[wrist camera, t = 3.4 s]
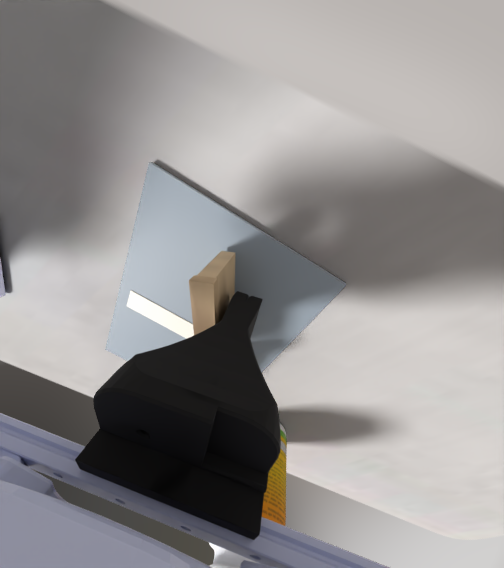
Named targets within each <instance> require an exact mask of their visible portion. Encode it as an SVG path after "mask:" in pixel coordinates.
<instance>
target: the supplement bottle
mask: <svg viewBox="0 0 504 568" xmlns="http://www.w3.org/2000/svg"><path fill="white" fill-rule="evenodd" d="M280 433H281V450H280V454H279V457H278V459H277V460H276V462H275V463H274V465H273V466H272V468H271V469H270V471H269V473H268V483H267V490H266V492H265V493H264V500H263V509H262V517H263V518H266V519H268V520H271V521H273V522H276V523H278V524H281V525H283V526H285V517H286V516H285V515H286V513H285V512H286V510H285V509H286V446H287V441H286V431H285V429H284V427H283V426H282V425H281V423H280ZM209 544H210V545H211V547H212V548H213V549H214V551H215V556H214V562H213V565H210V567H212V568H240V565H241V563H242V562H243V561H244V560H246V561H251V562H255V561H253V560H250V559H248V558H245V557H243V556H241V555H238V554H236V553H233V552H231V551H229V550H226V549H224V548H221V547H219V546H217V545H214V544H212V543H209ZM255 563H257V562H255ZM259 564H260V563H259Z"/></svg>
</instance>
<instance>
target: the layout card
mask: <svg viewBox="0 0 504 568" xmlns="http://www.w3.org/2000/svg"><path fill="white" fill-rule="evenodd" d="M221 251H227V252H235V293H236V292H237V291H239V292H242V293H245V294H248V296H249V297H250V296H255V297H258V298H261V299H263V300H262V303H261V306H260V309H259V313H258V316H257V319H256V322H255V326H254V329H253V332H252V335H251V343H252V347H253V350H254V354H255V356H256V359H257V362H258V365H259V367H260V370H261V372H262V371H263V370H264V369H265V368H266V367H267V366H268V365H269V364H270V363H271V362H272V361H273V360H274V359H275V358H276V357H277V356H278V355H279V354H280V353H281V352H282V351H283V350H284V349H285V348H286V347H287V346H288V345H289V344H290V343H291V342H292V341H293V340H294V339H295V337H296V336H297V335H298V334H299V333H300V332H301V331H302V330H303V329H304V328H305V327H306V326H307V325H308V324H309V323H310V322H311V321H312V320H313V319H314V318H315V317H316V316H317V315H318V314H319V313H320V312H321V311H322V310H323V309H324V308H325V307H326V306H327V305H328V304H329V303H330V301H331V300H332V299H333V298H334V297H335V296H336V295H337V294H338V293H339V292H340V291H341V290H342V289H343V288H344V287H345V286H346V283H345V282H344V281H342V280H340V279H339V278H337V277H336V276H334V275H332V274H331V273H329V272H328V271H326V270H324V269H323V268H321V267H320V266H318V265H316V264H315V263H313V262H312V261H310V260H308V259H307V258H305V257H304V256H302V255H300V254H299V253H297V252H296V251H294V250H292V249H291V248H289V247H288V246H286V245H284V244H283V243H281V242H280V241H278V240H276V239H275V238H273V237H271V236H270V235H268V234H267V233H265V232H263V231H262V230H260V229H259V228H257V227H255V226H254V225H252V224H251V223H249V222H247V221H246V220H244V219H243V218H241V217H239V216H238V215H236V214H235V213H233V212H231V211H230V210H228V209H227V208H225V207H223V206H222V205H220V204H219V203H217V202H215V201H214V200H212V199H211V198H209V197H207V196H206V195H204V194H203V193H201V192H199V191H198V190H196V189H195V188H193V187H191V186H190V185H188V184H187V183H185V182H183V181H182V180H180V179H179V178H177V177H175V176H174V175H172V174H171V173H169V172H167V171H166V170H164V169H162V168H161V167H159V166H158V165H156V164H154V163H153V162H149V165H148V169H147V173H146V178H145V182H144V186H143V191H142V195H141V199H140V203H139V208H138V212H137V216H136V221H135V225H134V229H133V233H132V238H131V242H130V246H129V251H128V255H127V259H126V263H125V268H124V272H123V276H122V280H121V285H120V289H119V293H118V298H117V302H116V306H115V310H114V315H113V319H112V323H111V328H110V332H109V336H108V340H107V345H106V349H105V350H107V351H109V352H111V353H113V354H115V355H117V356H119V357H121V358H123V359H125V360H127V361H129V360H130V359H131V358H132V357H133V356H134V355H136V354H139V353H143V352H147V351H151V350H154V349H158V348H162V347H165V346H168V345H171V344H174V343H176V342H179V341H182V340H184V339H187V338H189V337H192V336H194V330H193V319H192V309H191V299H190V289H189V280H190V279H191V278H192V277H193V276H194V275H198V274H199V273H200V272H201V271H202V270H203V269H204V268H205V267H206V266H207V265H208V264H209V263H210V262H211V261H212V260H213V259H214V258H215V257H216V256H217V255H218V254H219V253H220V252H221Z"/></svg>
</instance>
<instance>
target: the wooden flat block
mask: <svg viewBox="0 0 504 568" xmlns="http://www.w3.org/2000/svg"><path fill="white" fill-rule="evenodd" d="M189 289H190V299H191V309H192V319H193V330H194V335H196V334H198V333H200V332H202V331H204V330H206V329H208V328H210V327H212V326H213V325H215V324H217V323H218V322H220V321H221V320H222V318H223V316H224V314H225V312H226V310H227V307H228V305H229V303H230V301H231V299H232V296H233V295H234V294H235V252H227V251H221V252H220V253H219V254H218V255H217V256H216V257H215V258H214V259H213V260H212V261H211V262H210V263H209V264H208V265H207V266H206V267H205V268H204V269H203V270H202V271H201V272H200V273H199V274H198V275H194V276H193V277H192V278H191V279H190V280H189Z"/></svg>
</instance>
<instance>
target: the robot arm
mask: <svg viewBox="0 0 504 568" xmlns="http://www.w3.org/2000/svg"><path fill="white" fill-rule="evenodd" d="M3 296H5V286H4V279H3V272H2V265H1V259H0V297H3ZM262 300H263V299H261V298H258V297H255V296H250V297H249V296H248V294H245V293H242V292H239V291H237V292H236V293H235V294H234V295H233V296H232V299H231V301H230V303H229V305H228V307H227V310H226V312H225V314H224V316H223V318H222V320H221V321H220V322H218V323H217V324H215V325H213V326H212V327H210V328H208V329H206V330H204V331H202V332H200V333H198V334H196V335H194V336H192V337H189V338H187V339H184V340H182V341H179V342H176V343H174V344H171V345H168V346H165V347H162V348H158V349H154V350H151V351H147V352H143V353H139V354H136V355H134V356H133V357H132V358H131V359H130V360H129V361H127V362H126V363H125V364H124V365H123V366H122V367H121V368H119V369H118V370H117V371H116V372H115V373H114V374H113V376H112V377H111V378H110V379H109V380H108V381H107V382H106V383H105V384H104V385H103V386H102V387H101V388H100V389H99V390H98V391H97V392H96V394H95V396H94V409H95V412H96V415H97V419H98V422H99V425H100V429H99V431H98V432H97V433H96V434H95V436H94V437H93V438H92V439H91V441H90V442H89V443H88V444H87V446H86V447H85V446H82V445H80V444H77V443H75V442H72V441H70V440H67V439H65V438H62V437H60V436H57V435H54V434H52V433H49V432H47V431H44V430H42V429H39V428H37V427H34V426H32V425H29V424H27V423H24V422H22V421H19V420H17V419H14V418H12V417H9V416H7V415H4V414H2V413H0V568H212V567H210V566H208V565H206V564H204V563H202V562H200V561H198V560H196V559H194V558H192V557H190V556H188V555H186V554H184V553H182V552H180V551H178V550H176V549H174V548H172V547H169V546H168V545H166V544H164V543H162V542H160V541H157V540H155V539H153V538H151V537H149V536H146V535H144V534H142V533H140V532H138V531H135V530H133V529H131V528H129V527H127V526H124V525H122V524H120V523H117V522H115V521H113V520H110V519H108V518H105V517H103V516H100V515H98V514H96V513H93V512H91V511H88V510H86V509H83V508H81V507H78V506H75V505H73V504H70V503H67V502H66V501H65V500H64V499H63V498H62V497H61V496H60V495H59V494H58V493H57V491H56V490H55V489H54V486H53V483H52V481H51V480H49V479H47V478H45V477H44V476H42V475H40V474H39V473H37V472H35V471H34V470H36V471H39V472H41V473H44V474H46V475H49V476H51V477H53V478H56V479H58V480H61V481H63V482H65V483H68V484H70V485H72V486H75V487H77V488H80V489H82V490H84V491H87V492H89V493H92V494H94V495H97V496H99V497H101V498H104V499H106V500H108V501H111V502H113V503H116V504H118V505H121V506H123V507H125V508H128V509H130V510H133V511H135V512H137V513H140V514H142V515H145V516H147V517H149V518H152V519H154V520H157V521H159V522H161V523H164V524H166V525H169V526H171V527H173V528H176V529H178V530H181V531H183V532H185V533H188V534H190V535H193V536H195V537H197V538H200V539H202V540H205V541H207V542H209V543H212V544H214V545H217V546H219V547H221V548H224V549H226V550H229V551H231V552H233V553H236V554H238V555H241V556H243V557H245V558H248V559H250V560H253V561H255V562H257V563H255V562H251V561H246V560H244V561H243V562H242V563H241V565H240V568H389V567H387V566H384V565H381V564H379V563H377V562H374V561H371V560H369V559H366V558H364V557H361V556H359V555H356V554H354V553H351V552H349V551H346V550H344V549H341V548H339V547H336V546H334V545H331V544H329V543H326V542H324V541H321V540H319V539H316V538H314V537H311V536H308V535H306V534H304V533H301V532H298V531H296V530H293V529H291V528H288V527H286V526H283V525H281V524H278V523H276V522H273V521H271V520H268V519H266V518H263V517H262V509H263V500H264V493H265V492H266V490H267V483H268V473H269V471H270V469H271V468H272V466H273V465H274V463H275V462H276V460H277V459H278V457H279V454H280V450H281V433H280V421H279V414H278V407H277V403H276V401H275V400H274V398H273V396H272V394H271V392H270V390H269V388H268V386H267V384H266V382H265V379H264V377H263V375H262V372H261V370H260V367H259V365H258V362H257V359H256V356H255V354H254V350H253V347H252V343H251V335H252V332H253V329H254V326H255V322H256V319H257V316H258V313H259V309H260V306H261V303H262ZM30 468H32V469H34V470H32V469H30ZM259 563H260V564H259Z"/></svg>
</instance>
